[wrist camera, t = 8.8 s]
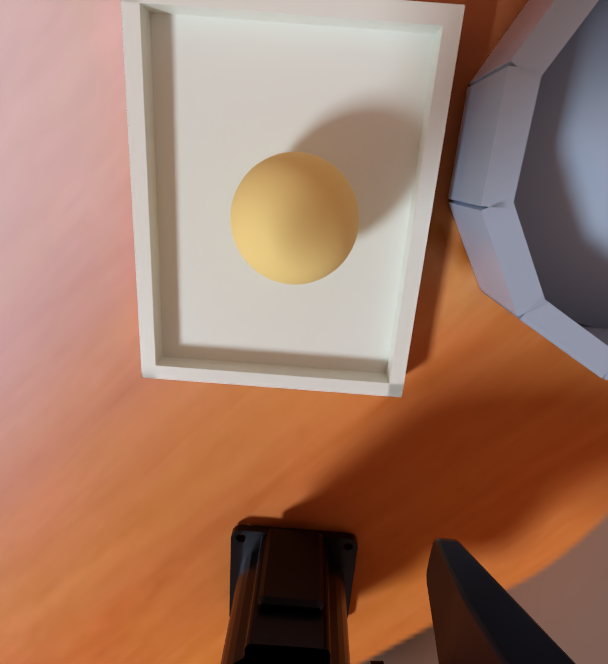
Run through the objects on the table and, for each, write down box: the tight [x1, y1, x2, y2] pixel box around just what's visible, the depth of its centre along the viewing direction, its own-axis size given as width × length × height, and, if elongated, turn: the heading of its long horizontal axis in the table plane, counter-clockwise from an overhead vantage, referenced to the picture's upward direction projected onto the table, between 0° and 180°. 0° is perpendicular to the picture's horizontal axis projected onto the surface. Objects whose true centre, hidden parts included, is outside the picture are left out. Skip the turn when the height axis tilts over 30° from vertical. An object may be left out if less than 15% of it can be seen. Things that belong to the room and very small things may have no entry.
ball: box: [230, 152, 359, 285], centre depth 16 cm, size 4×4×4 cm
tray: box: [121, 0, 465, 397], centre depth 18 cm, size 14×11×2 cm
